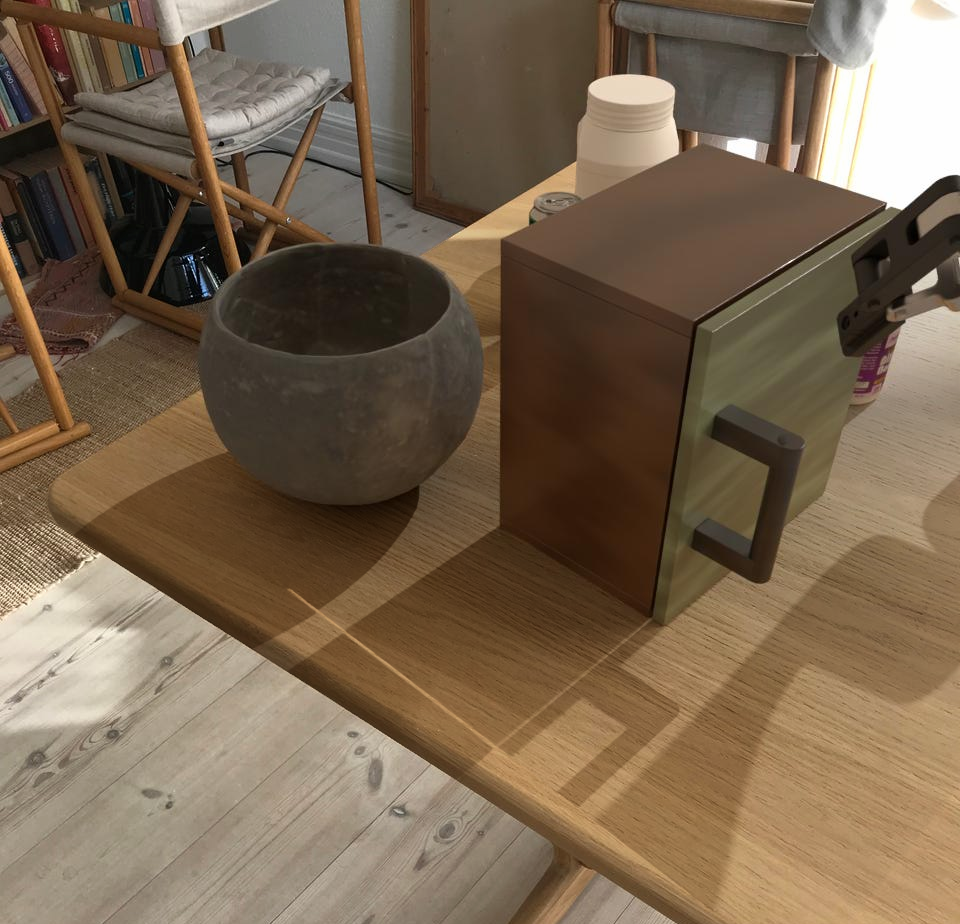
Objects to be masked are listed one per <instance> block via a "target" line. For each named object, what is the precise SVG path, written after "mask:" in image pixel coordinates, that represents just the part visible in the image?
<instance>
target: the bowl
mask: <svg viewBox="0 0 960 924" xmlns="http://www.w3.org/2000/svg"><path fill="white" fill-rule="evenodd" d="M481 339H482V338H481V335H480V330H479V326H478V323H477V321H476V318H475V315H474V312H473V311H472V309H471V307H470V305H469V303H468V302H467V300H466V298H465V297H464V295H463V293H462V291H461V290H460V289H459V287H458V286H457V285H456V283H455V282H454V280H452V279H451V278H450V276H449V275H448V274H447V273H446V272H445V271H443V270H442V269H441V268H439V267H438V266H436V265H435V264H434V263H432V262H430V261H429V260H426V259H425V258H423V257H420V256H418V255H415V254H414V253H410V252H408V251H404V250H401V249H398V248H395V247H392V246H387V245H381V244H375V243H366V242H350V241H329V242H327V241H326V242H325V241H323V242H321V241H320V242H315V241H314V242H307V243H306V242H305V243H300V244H296V245H291V246H286V247H283V248H280V249H279V248H278V249H277V250H273V251H271V252H268V253H265V254H263V255H260V256H258V257H256V258H255V259H253V260H251V261H250V262H248V263H246V264H245V265H243V266H242V267H240V268H239V269H238V270H236V271H234V273H232V274H231V275H230V276H228V277H227V278H226V279H225V280H224V281H223V282H222V283H221V285H219V287H218V288H217V289H216V291H215V293H214V294H213V296H212V299H211V300H210V303H209V306H208V308H207V311H206V313H205V317H204V321H203V324H202V329H201V333H200V339H199V345H198V351H197V353H198V354H197V367H198V378H199V385H200V389H201V393H202V397H203V401H204V406H205V408H206V412H207V414H208V417H209V419H210V421H211V424H212V426H213V428H214V431H215V433H216V434H217V437H218V438H219V440H220V441H221V443H222V445H223V446H224V447H225V449H226V450H227V452H228V453H229V454H230V456H232V458H234V459H235V460H236V462H237V463H238V464H239V465H240V466H241V467H242V468H243V469H245V470H246V471H247V472H248V473H249V474H250V475H252V476H253V477H254V478H256V479H257V480H258V481H260V482H262V483H264V484H266V485H267V486H269V487H270V488H272V489H274V490H276V491H278V492H280V493H283V494H285V495H288V496H291V497H293V498H295V499H298V500H302V501H306V502H310V503H314V504H321V505H333V506H334V505H335V506H336V505H337V506H362V505H363V506H364V505H372V504H376V503H381V502H384V501H387V500H390V499H393V498H396V497H398V496H400V495H402V494H405V493H407V492H410V491H411V490H413V489H415V488H416V487H418V486H420V485H422V484H423V483H425V482H426V481H427V480H428V479H430V478H431V477H432V476H433V475H434V474H435V473H436V472H437V471H438V470H439V469H440V468H441V467H442V466H444V464H445V463H447V461H448V460H449V458H450V457H452V455H454V453H455V451H456V450H457V449H458V447H460V445H461V444H463V442H464V441H465V439H466V438H467V436H468V434H469V432H470V430H471V428H472V426H473V423H474V421H475V418H476V415H477V413H478V412H477V411H478V408H479V405H480V402H481V398H482V390H483V382H484V370H485V369H484V368H485V367H484V366H485V364H484V362H485V361H484V352H483V351H484V349H483V343H482V340H481Z"/></svg>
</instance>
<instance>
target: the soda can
mask: <svg viewBox="0 0 960 924" xmlns="http://www.w3.org/2000/svg"><path fill="white" fill-rule="evenodd" d="M581 200H583V199H582V198H581V197H580V196H578V195H576V194H575V193H572V192H569V191H568V192H567V191H549V192H545V193H542V194H540V195H538V196H536V197H535V198H534V200H533V206H532V207H531V209H530V210H529V212H528V226H529V225H531V224H533V223H535V222H537V221H539V220H542V219H544V218H546V217H548V216H550V215H552V214H554V213H556V212H558V211H560V210H563V209H565V208H567V207H569V206H571V205H573V204H575V203H577V202H579V201H581Z"/></svg>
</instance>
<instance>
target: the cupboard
mask: <svg viewBox="0 0 960 924" xmlns="http://www.w3.org/2000/svg"><path fill="white" fill-rule="evenodd" d="M887 207H888V202H887V201H884V200H881V199H877V198H874V197H871V196H869V195H866V194H862V193H859V192H857V191H852V190H849V189H846V188H844V187H841V186H837V185H835V184H831V183H828V182H826V181H822V180H818V179H815V178H813V177H810V176H806V175H803V174H800V173H798V172H794V171H791V170H789V169H785V168H781V167H778V166H775V165H772V164H769V163H766V162H763V161H760V160H757V159H753V158H751V157H748V156H744V155H741V154H738V153H735V152H732V151H728V150H726V149H724V148H719V147H717V146H713V145H711V144H708V143H704V142H702V143H699V144H697V145H695V146H693V147H691V148H689V149H687V150H685V151H683V152H679V154H678V155H676V156H674V157H672V158H670V159H668V160H665V161H663V162H661V163H659V164H657V165H655V166H653V167H651V168H649V169H647V170H644V171H642V172H640V173H638V174H636V175H634V176H632V177H630V178H628V179H626V180H623V181H621V182H619V183H617V184H615V185H613V186H611V187H609V188H607V189H605V190H602V191H600V192H598V193H596V194H594V195H592V196H590V197H588V198H586V199H584V200H581V201H579V202H577V203H575V204H573V205H571V206H569V207H567V208H565V209H563V210H560V211H558V212H556V213H554V214H552V215H550V216H548V217H546V218H544V219H542V220H539V221H537V222H535V223H533V224H531V225H529V224H528V225H527V226H525V227H523V228H521V229H519V230H516V231H514V232H512V233H510V234H507V235H506V236H504V237H502V238H500V290H499V291H500V293H499V294H500V298H499V299H500V300H499V301H500V306H499V307H500V308H499V309H500V310H499V311H500V313H499V314H500V315H499V319H500V320H499V321H500V323H499V328H500V329H499V334H500V335H499V343H500V344H499V360H500V361H499V367H500V368H499V527H501V529H504V530H505V531H507V532H508V533H510V534H512V535H513V536H515V537H517V538H518V539H520V540H522V541H523V542H524V543H526V544H528V545H530V546H532V547H533V548H534V549H536V550H537V551H539V552H541V553H542V554H544V555H546V556H547V557H549V558H551V560H554V561H555V562H557V563H558V564H560V565H561V566H564V567H565V568H566V569H568V570H569V571H572V572H573V573H574V574H577V575H578V576H580V577H581V578H583V579H585V580H586V581H588V582H589V583H591V584H593V585H594V586H596V587H597V588H599V589H601V590H602V591H604V592H606V593H607V594H609V595H611V596H612V597H614V598H615V599H617V600H619V601H620V602H621V603H623V604H625V605H627V606H629V607H630V608H632V610H635V611H636V612H638V613H639V614H641V615H643V616H645V617H646V618H651V617H653V611H654V604H655V598H656V591H657V585H658V578H659V572H660V565H661V559H662V552H663V546H664V539H665V533H666V526H667V520H668V513H669V507H670V500H671V494H672V487H673V481H674V474H675V468H676V461H677V455H678V448H679V442H680V435H681V429H682V422H683V416H684V409H685V403H686V396H687V390H688V383H689V377H690V370H691V364H692V357H693V351H694V344H695V338H696V331H697V326H698V325H700V324H701V323H703V322H705V321H706V320H708V319H710V318H711V317H713V316H714V315H716V314H718V313H719V312H721V311H723V310H724V309H726V308H727V307H729V306H731V305H732V304H734V303H735V302H737V301H739V300H740V299H742V298H744V297H745V296H747V295H748V294H750V293H752V292H753V291H755V290H756V289H758V288H760V287H761V286H763V285H765V284H766V283H768V282H769V281H771V280H773V279H774V278H776V277H778V276H779V275H781V274H782V273H784V272H786V271H787V270H789V269H790V268H792V267H794V266H795V265H797V264H799V263H800V262H802V261H803V260H805V259H807V258H808V257H810V256H811V255H813V254H815V253H816V252H818V251H820V250H821V249H823V248H824V247H826V246H828V245H829V244H831V243H833V242H834V241H836V240H837V239H839V238H841V237H842V236H844V235H845V234H847V233H849V232H850V231H852V230H854V229H855V228H857V227H858V226H860V225H862V224H863V223H865V222H866V221H868V220H870V219H871V218H873V217H875V216H876V215H878V214H879V213H881V212H883V211H884V210H886V209H887Z"/></svg>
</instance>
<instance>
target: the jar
mask: <svg viewBox="0 0 960 924" xmlns="http://www.w3.org/2000/svg"><path fill="white" fill-rule="evenodd" d="M586 96H587V100H586V105H587V106H586V111H585V114H584V116H583V117H582V118H581V119H580V121H579V122H578V123H577V130H576V131H577V134H576V162H575V163H576V164H575V183H574V194H576V195H578V196H580V197H581V198H582V199H583V200H584V199H586V198H588V197H590V196H592V195H594V194H596V193H598V192H600V191H602V190H605V189H607V188H609V187H611V186H613V185H615V184H617V183H619V182H621V181H623V180H626V179H628V178H630V177H632V176H634V175H636V174H638V173H640V172H642V171H644V170H647V169H649V168H651V167H653V166H655V165H657V164H659V163H661V162H663V161H665V160H668V159H670V158H672V157H674V156H676V155H678V154H680V152H679V151H680V140H679V137H678V132H677V131H678V130H677V126H676V121H675V118H674V107H675V106H674V104H675V96H676V89H675V87H674V86H673V84H671V83H670V82H669V81H666V80H664V79H661V78H659V77H655V76H650V75H644V74H630V73H629V74H628V73H627V74H613V75H607V76H603V77H601V78H598V79H596V80H594V81H593V82H591V83H590V84H589V85H588V87H587V95H586Z"/></svg>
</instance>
